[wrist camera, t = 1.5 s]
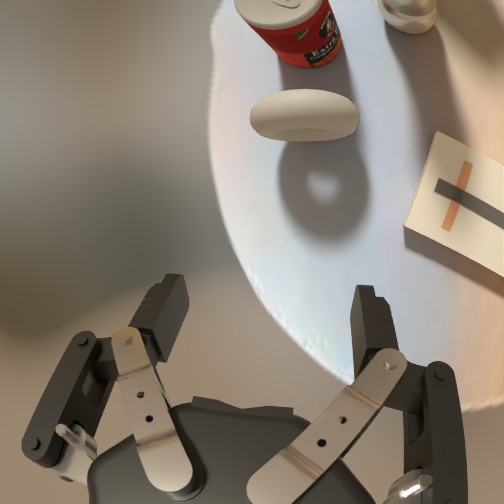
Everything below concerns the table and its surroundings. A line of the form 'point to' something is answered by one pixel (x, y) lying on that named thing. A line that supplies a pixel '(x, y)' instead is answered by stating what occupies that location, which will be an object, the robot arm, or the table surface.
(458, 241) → the fader deck
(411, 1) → the plastic bottle
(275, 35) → the canned food
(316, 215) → the table surface
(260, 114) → the donut
